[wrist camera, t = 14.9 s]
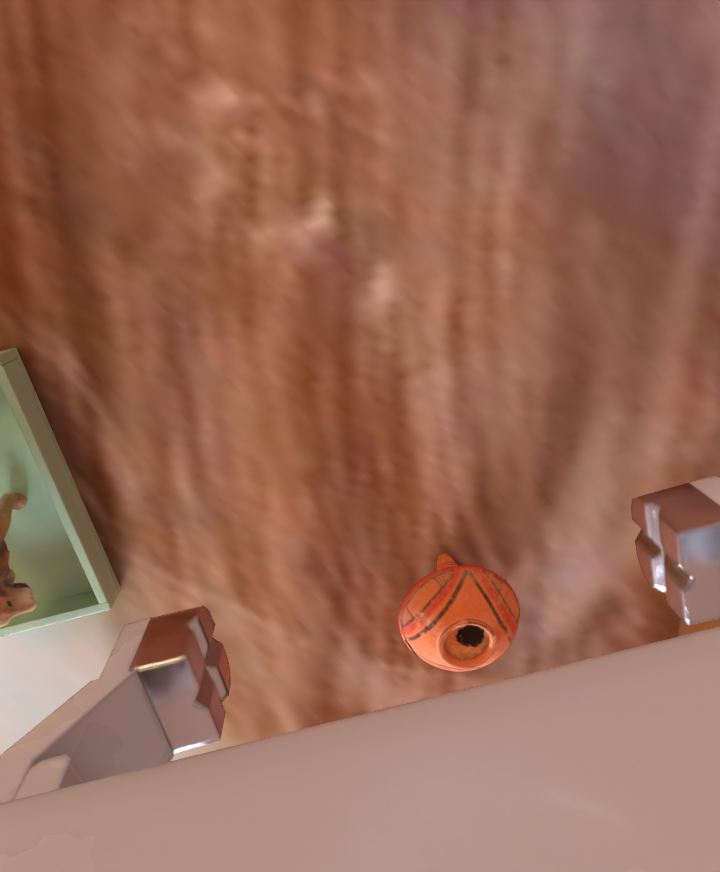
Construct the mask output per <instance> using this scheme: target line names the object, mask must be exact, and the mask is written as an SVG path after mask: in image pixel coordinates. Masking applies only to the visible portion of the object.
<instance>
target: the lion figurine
mask: <svg viewBox="0 0 720 872" xmlns="http://www.w3.org/2000/svg"><path fill="white" fill-rule="evenodd" d="M27 501H28V498H27V497H26V496H24V495H23V494H21V493H18V492H7V493H5V494H4V495H3V496H2V497H1V499H0V627H2V626H6V625H7V624H8V623H9V622H10V620H11V618H12V617H14V616H17V615H20V614H23V613H27V612H31V611H33V610H34V609H35V607H36V601H35V600H34V595H33V592H32V590H31V585H30V584H29V583H14V581H15V572H14V571H13V570H12V569H10V568H9V565H8V561H9V554H10V551H9V550H8V548H7V544H6V543H5V541H4V538H5V536H6V534H7V531H8V528H9V526H10V522H11V514H12V509H15V510H21V509H22V508H24V507H25V506H26V504H27Z"/></svg>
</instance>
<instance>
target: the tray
mask: <svg viewBox="0 0 720 872" xmlns="http://www.w3.org/2000/svg"><path fill="white" fill-rule="evenodd" d="M7 492H18V493H21V494H23V495H24V496H26V497H27V498H28V501H27V504H26V506H25V507H24V508H22V509H21V510H15V509H12V514H11V522H10V526H9V528H8V531H7V534H6V536H5V538H4V541H5V543H6V544H7V548H8V550H9V551H10V554H9V561H8V565H9V568H10V569H12V570H13V571H14V572H15V581H14V583H29V584H30V585H31V590H32V592H33V595H34V600H35V601H36V607H35V609H34V610H33V611H31V612H27V613H23V614H20V615H17V616H14V617H12V618H11V620H10V622H9V623H8V624H7V625H6V626H2V627H0V637H2V636H6V635H10V634H14V633H18V632H22V631H26V630H30V629H34V628H38V627H42V626H46V625H50V624H54V623H58V622H62V621H66V620H70V619H74V618H78V617H82V616H86V615H90V614H94V613H98V612H102V611H106V610H110V609H111V608H112V606H113V604H114V602H115V600H116V598H117V596H118V594H119V592H120V591H121V587H120V585H119V583H118V581H117V578H116V576H115V574H114V571H113V569H112V567H111V564H110V562H109V560H108V558H107V555H106V553H105V551H104V548H103V546H102V544H101V541H100V539H99V537H98V535H97V532H96V530H95V528H94V525H93V523H92V521H91V518H90V516H89V514H88V512H87V509H86V507H85V505H84V502H83V500H82V498H81V495H80V493H79V491H78V489H77V486H76V484H75V482H74V479H73V477H72V475H71V472H70V470H69V468H68V465H67V463H66V461H65V459H64V456H63V454H62V452H61V449H60V447H59V445H58V442H57V440H56V438H55V436H54V433H53V431H52V429H51V426H50V424H49V422H48V419H47V417H46V415H45V413H44V410H43V408H42V406H41V403H40V401H39V399H38V396H37V394H36V392H35V390H34V387H33V385H32V383H31V380H30V378H29V376H28V373H27V371H26V369H25V367H24V364H23V362H22V360H21V357H20V355H19V353H18V350H17V348H16V347H15V348H11V349H7V350H3V351H0V499H1V497H2V496H3V495H4V494H5V493H7Z"/></svg>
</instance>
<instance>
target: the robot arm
mask: <svg viewBox="0 0 720 872" xmlns="http://www.w3.org/2000/svg"><path fill="white" fill-rule="evenodd" d="M631 512H632V520H633V521H634V522H635V523H636V524H637V525H638V526H639V527H640V528H641V531H640V533H639V535H638V536H637V538H636V540H635V544H636V551H637V557H638V560H639V563H640V566H641V568H642V571H643V573H644V575H645V576H646V578H647V580H648V581H649V583H650V584H651V585H652V586H653V587H654V588H655V589H656V590H659V591H662V592H665V593H666V595H667V603H668V604H669V606H670V607H671V608H672V609H673V610H674V611H675V612H676V613H677V614H678V616H679V617H680V618H681V619H682V620H683V621H684V622H685V623H686V624H687V625H692V624H696V623H701V622H706V621H710V620H715V619H720V478H719V477H713V476H711V477H707V478H704V479H701V480H697V481H694V482H690V483H686V484H683V485H679V486H675V487H672V488H668V489H665V490H661V491H657V492H654V493H650V494H647V495H643V496H639V497H636V498H634V499H632V504H631ZM214 627H215V623H214V621H213V619H212V616H211V614H210V612H209V610H208V609H207V608H206V607H205V606H201V607H196V608H192V609H188V610H184V611H179V612H175V613H171V614H166V615H162V616H158V617H154V618H148V619H144V620H140V621H137V622H133V623H130V624H127V625H125V626H124V627H123V629H122V631H121V633H120V635H119V637H118V640H117V642H116V644H115V646H114V648H113V650H112V652H111V654H110V657H109V659H108V661H107V663H106V665H105V667H104V669H103V671H102V674H101V676H100V678H99V679H98V680H94V681H91V682H89V683H88V684H87V685H86V686H84V687H83V688H82V689H81V690H80V691H78V692H77V693H76V694H75V695H73V696H72V697H71V698H70V699H69V700H67V701H66V702H65V703H64V704H63V705H61V706H60V707H59V708H58V709H56V710H55V711H54V712H53V713H52V714H50V715H49V716H48V717H47V718H45V719H44V720H43V721H42V722H41V723H39V724H38V725H37V726H36V727H34V728H33V729H32V730H31V731H30V732H28V733H27V734H26V735H25V736H24V737H22V738H21V739H20V740H19V741H17V742H16V743H15V744H14V745H13V746H11V747H10V748H9V749H8V750H6V751H5V752H4V753H3V754H2V755H0V872H720V627H716V628H712V629H707V630H703V631H699V632H695V633H691V634H688V635H683V636H679V637H675V638H671V639H667V640H663V641H659V642H655V643H651V644H646V645H642V646H638V647H634V648H630V649H626V650H622V651H618V652H614V653H610V654H606V655H602V656H598V657H594V658H590V659H586V660H581V661H577V662H573V663H569V664H565V665H561V666H557V667H553V668H549V669H545V670H541V671H537V672H533V673H529V674H525V675H521V676H516V677H512V678H508V679H504V680H500V681H496V682H492V683H488V684H484V685H480V686H476V687H472V688H468V689H464V690H460V691H455V692H451V693H447V694H443V695H439V696H435V697H431V698H427V699H423V700H419V701H415V702H411V703H407V704H403V705H399V706H394V707H390V708H386V709H382V710H378V711H374V712H370V713H366V714H362V715H358V716H354V717H350V718H346V719H342V720H337V721H333V722H329V723H325V724H321V725H317V726H313V727H309V728H305V729H301V730H297V731H293V732H289V733H285V734H281V735H276V736H272V737H268V738H264V739H260V740H256V741H252V742H248V743H244V744H240V745H236V746H232V747H228V748H224V749H220V750H215V751H211V752H207V753H203V754H199V755H195V756H191V757H187V758H183V759H179V760H175V761H171V762H170V760H171V759H172V758H173V756H174V754H173V753H177V752H180V751H184V750H188V749H191V748H195V747H198V746H202V745H206V744H209V743H213V742H217V741H220V739H221V733H222V728H223V723H224V718H225V710H224V708H223V705H222V702H223V701H224V699H225V698H226V697H227V696H228V695H229V690H230V684H231V681H230V667H229V663H228V659H227V655H226V652H225V649H224V647H223V644H222V643H220V642H219V641H217V640H216V639H214V638H213V637H212V636H213V631H214Z"/></svg>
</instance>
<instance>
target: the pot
mask: <svg viewBox="0 0 720 872" xmlns="http://www.w3.org/2000/svg"><path fill="white" fill-rule="evenodd" d="M519 617H520V608H519V603H518V599H517V597H516V594H515V592H514V591H513V589H512V588H511V586H510V585H509V584H508V583H507V582H506V581H505V580H504V579H503V578H502V577H500V576H499V575H497V574H496V573H494V572H492V571H490V570H488V569H485V568H482V567H479V566H474V565H457V564H456V563H455V561H454V560H453V559H452V558H451V557H450V556H449V555H447V554H445V553H444V554H441V555H439V557H438V561H437V571H435V572H433V573H431V574H429V575H427V576H425V577H424V578H423V579H421V580H420V581H419V582H417V583H416V584H415V585H414V586H413V587H412V589H411V590H410V591H409V593H408V594H407V596H406V598H405V600H404V602H403V604H402V607H401V609H400V612H399V626H400V631H401V635H402V638H403V640H404V642H405V643H406V645H407V647H408V648H409V649H410V650H411V651H412V652H413V653H414V654H415V655H416V656H418V657H420V658H421V659H422V660H424V661H425V662H427V663H429V664H431V665H433V666H435V667H438V668H441V669H444V670H449V671H471V670H476V669H479V668H482V667H484V666H486V665H488V664H490V663H491V662H493V661H494V660H496V659H497V658H498V657H500V656H501V655H502V654H503V653H504V652H505V650H506V649H507V648H508V647H509V645H510V644H511V642H512V640H513V638H514V636H515V634H516V631H517V627H518V623H519Z"/></svg>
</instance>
